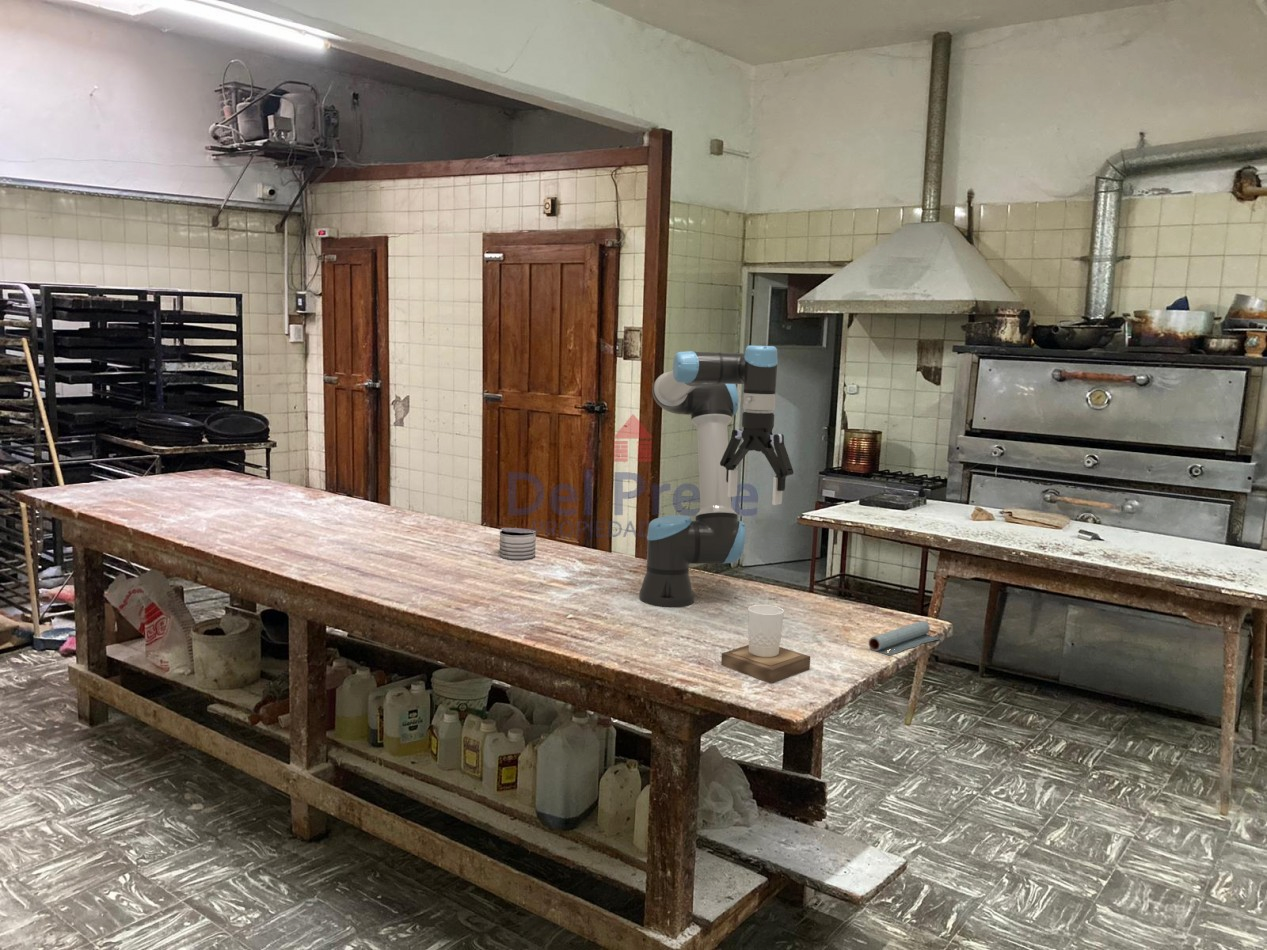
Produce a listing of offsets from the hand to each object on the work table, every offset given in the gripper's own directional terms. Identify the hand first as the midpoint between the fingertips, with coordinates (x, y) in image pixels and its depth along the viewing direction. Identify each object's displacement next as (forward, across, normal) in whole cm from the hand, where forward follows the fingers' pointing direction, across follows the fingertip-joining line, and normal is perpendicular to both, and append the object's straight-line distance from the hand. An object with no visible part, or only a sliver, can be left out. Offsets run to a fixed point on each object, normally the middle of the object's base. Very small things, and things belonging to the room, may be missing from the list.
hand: (754, 500), depth 225 cm
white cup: (+32, +14, -12) cm, 37 cm away
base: (+35, +15, -12) cm, 40 cm away
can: (+35, -95, +2) cm, 101 cm away
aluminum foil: (+35, +26, +30) cm, 53 cm away
